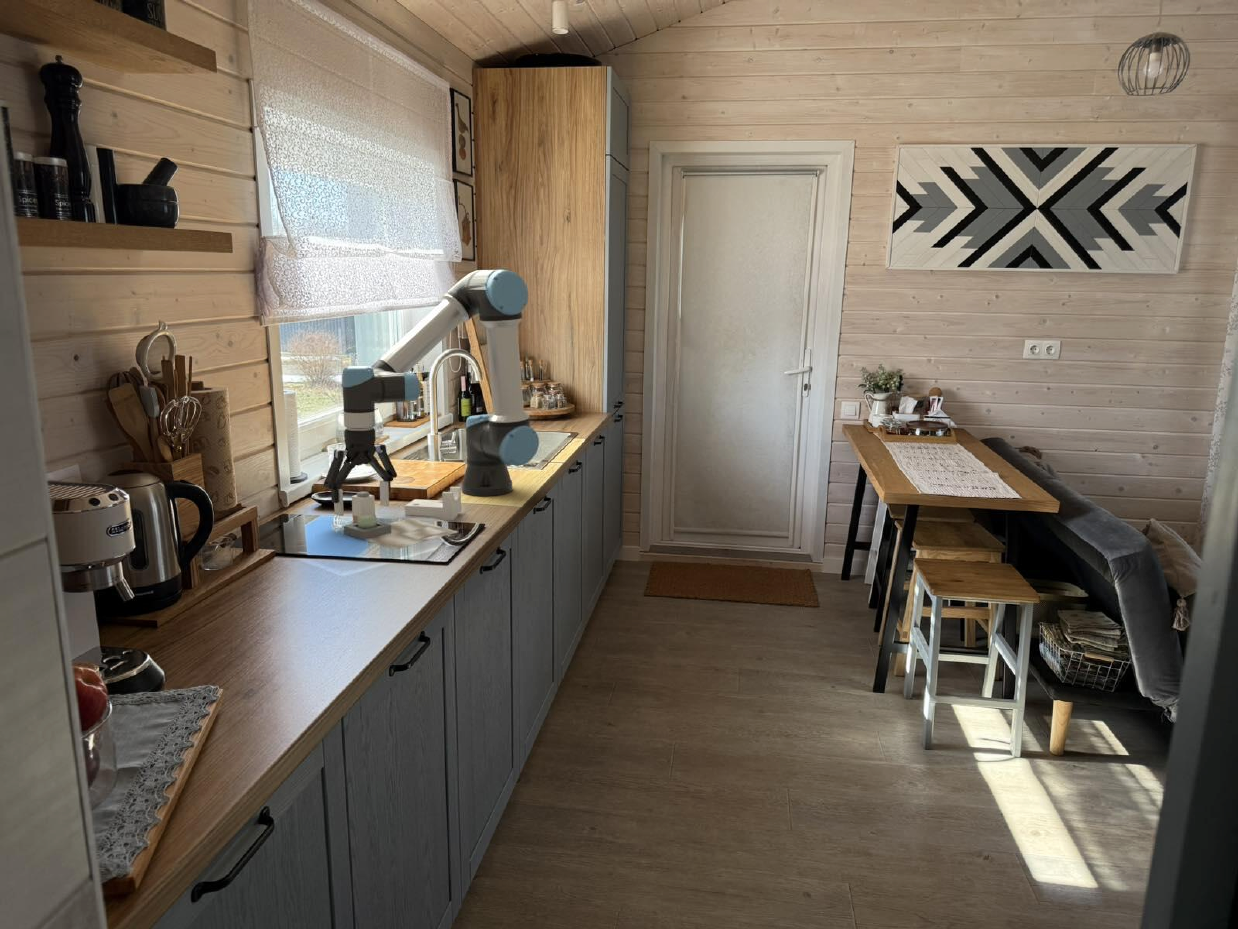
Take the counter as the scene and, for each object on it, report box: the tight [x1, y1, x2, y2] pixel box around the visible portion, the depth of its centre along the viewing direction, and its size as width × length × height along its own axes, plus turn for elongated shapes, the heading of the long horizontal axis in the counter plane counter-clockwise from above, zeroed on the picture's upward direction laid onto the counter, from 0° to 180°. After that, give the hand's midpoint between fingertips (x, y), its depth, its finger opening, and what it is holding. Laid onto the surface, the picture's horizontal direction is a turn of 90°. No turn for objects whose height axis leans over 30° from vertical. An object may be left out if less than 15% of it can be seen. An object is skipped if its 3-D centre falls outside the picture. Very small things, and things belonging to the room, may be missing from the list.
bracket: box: [404, 486, 462, 521], centre depth 230 cm, size 13×7×8 cm, turn 82°
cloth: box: [365, 517, 458, 550], centre depth 212 cm, size 21×21×1 cm
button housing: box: [343, 520, 391, 541], centre depth 211 cm, size 8×8×2 cm
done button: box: [358, 515, 378, 529], centre depth 210 cm, size 4×4×2 cm
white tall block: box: [351, 491, 376, 523], centre depth 221 cm, size 4×4×8 cm
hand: (362, 510), depth 221 cm, fingers open, 13 cm apart
